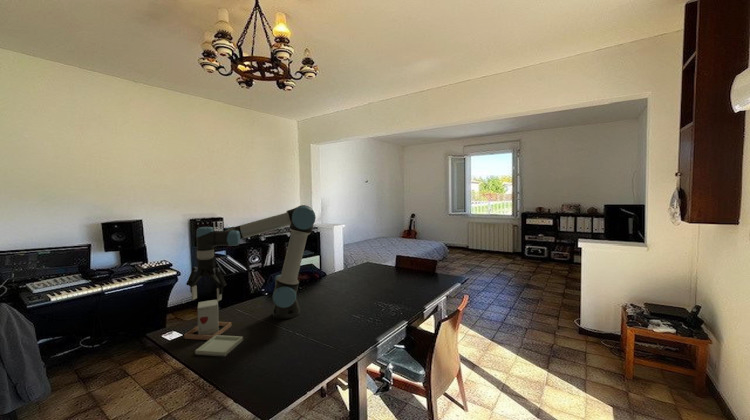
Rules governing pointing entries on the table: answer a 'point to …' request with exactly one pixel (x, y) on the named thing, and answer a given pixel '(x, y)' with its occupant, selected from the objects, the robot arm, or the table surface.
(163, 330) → the table surface
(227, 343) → the tray
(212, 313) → the supplement box
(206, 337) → the frame
